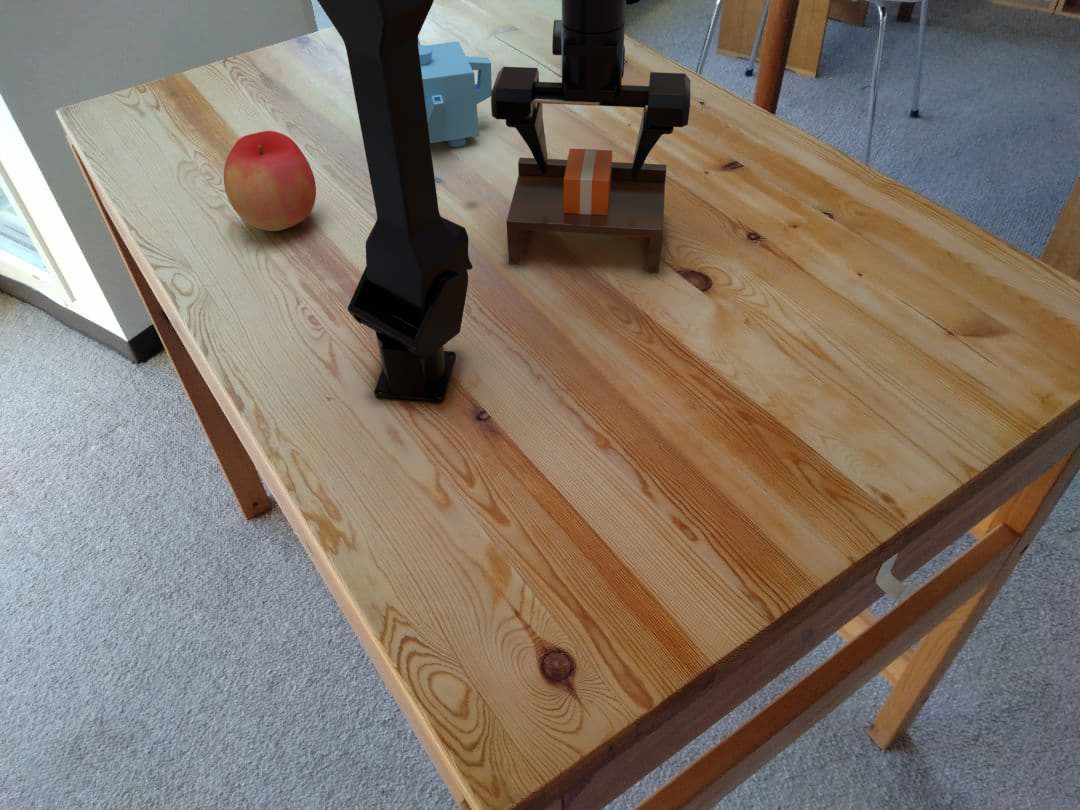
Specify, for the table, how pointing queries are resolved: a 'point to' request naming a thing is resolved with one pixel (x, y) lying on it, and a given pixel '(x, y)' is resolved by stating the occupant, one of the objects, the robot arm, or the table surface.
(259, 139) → the apple
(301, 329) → the table surface
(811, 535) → the table surface
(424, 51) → the teapot
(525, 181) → the shelf
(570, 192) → the package
